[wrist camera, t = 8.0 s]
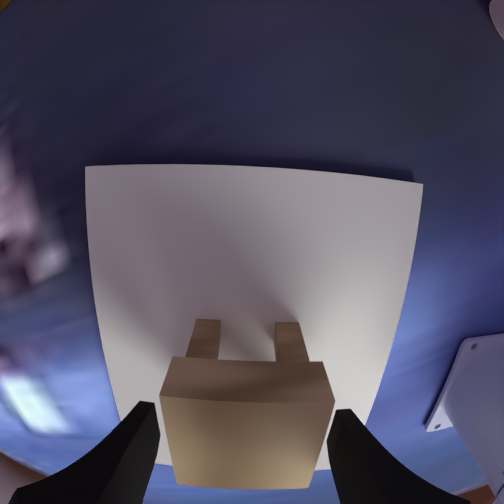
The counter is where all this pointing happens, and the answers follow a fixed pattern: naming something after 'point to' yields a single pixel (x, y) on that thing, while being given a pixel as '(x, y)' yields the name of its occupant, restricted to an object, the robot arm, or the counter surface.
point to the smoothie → (497, 15)
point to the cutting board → (248, 270)
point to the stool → (245, 413)
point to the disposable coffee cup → (4, 3)
